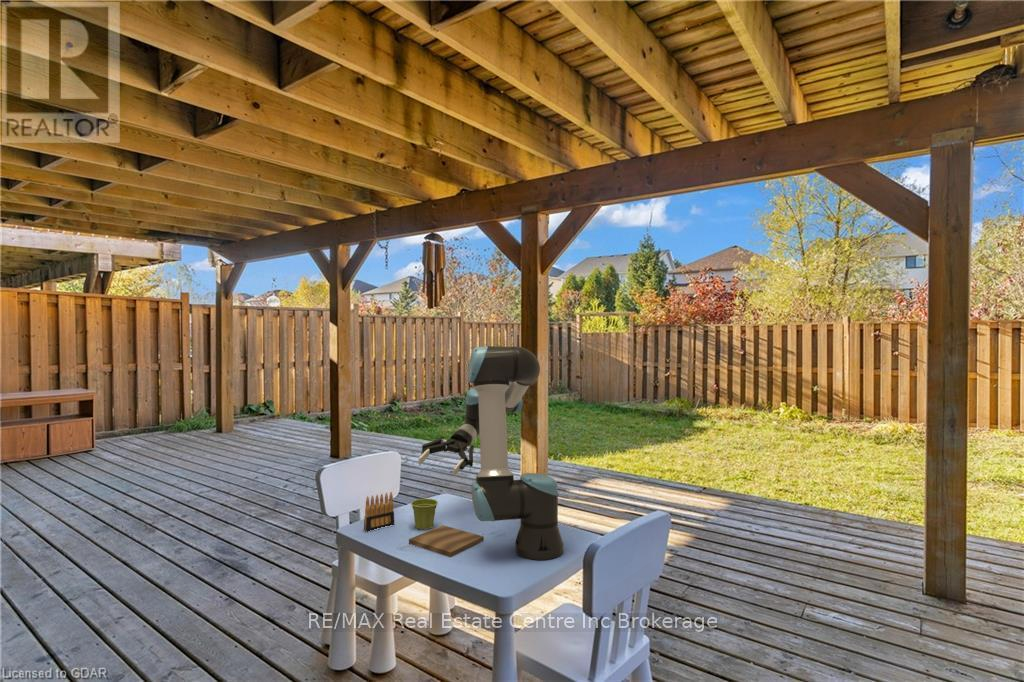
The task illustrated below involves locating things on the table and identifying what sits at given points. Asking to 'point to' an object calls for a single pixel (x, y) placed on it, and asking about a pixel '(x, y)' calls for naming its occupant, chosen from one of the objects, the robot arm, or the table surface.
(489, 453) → the robot arm
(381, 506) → the ammunition clip
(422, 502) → the plant pot
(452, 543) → the walnut board
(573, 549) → the table surface
